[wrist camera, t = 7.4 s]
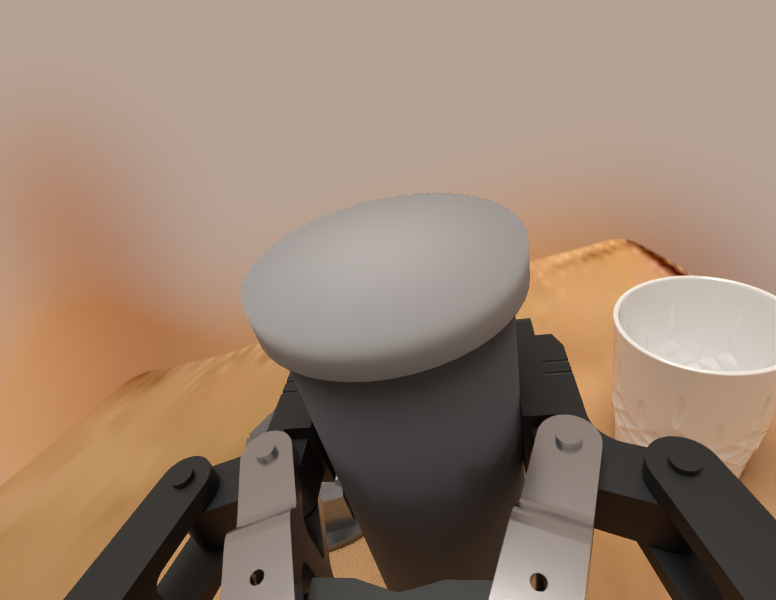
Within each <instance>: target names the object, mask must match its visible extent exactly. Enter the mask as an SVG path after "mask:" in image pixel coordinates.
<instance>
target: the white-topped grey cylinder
mask: <svg viewBox="0 0 776 600" xmlns="http://www.w3.org/2000/svg"><path fill="white" fill-rule="evenodd" d="M529 281H530V269H529V240H528V234H527V230H526V228H525V226H524V224H523V222H522V221H521V220H520V219H519V218H518V216H517V215H516V214H514V213H513V212H511V211H510V210H509V209H507V208H505V207H503V206H502V205H500V204H498V203H495V202H492V201H489V200H486V199H482V198H478V197H474V196H468V195H461V194H449V193H448V194H447V193H429V194H428V193H427V194H412V195H403V196H396V197H390V198H384V199H379V200H375V201H370V202H366V203H362V204H359V205H355V206H352V207H349V208H345V209H342V210H339V211H336V212H334V213H332V214H329V215H326V216H324V217H321V218H319V219H317V220H315V221H313V222H310V223H309V224H306V225H305V226H303V227H301V228H299V229H297V230H295V231H293V232H292V233H290V234H289V235H287V236H285V237H284V238H282V239H281V240H280V241H278V242H277V243H276V244H274V245H273V246H272V247H270V248H269V249H268V250H267V251H266V252H264V253H263V255H261V257H259V258H258V259H257V261H256V262H255V263H254V264H253V266H252V267H251V268H250V270H249V271H248V273H247V275H246V277H245V279H244V281H243V284H242V287H241V295H240V297H241V304H242V307H243V309H244V311H245V313H246V316H247V317H248V320H249V322H250V324H251V326H252V328H253V330H254V332H255V334H256V336H257V339H258V341H259V343H260V345H261V347H262V349H263V350H264V351H265V352H266V354H267V355H268V356H269V357H270V358H271V359H272V360H274V361H275V362H276V363H277V364H279V365H280V366H282V367H284V368H286V369H288V370H290V372H291V375H292V377H293V379H294V381H295V384H296V386H297V388H298V390H299V392H300V395H301V397H302V399H303V401H304V404H305V406H306V408H307V410H308V413H309V415H310V417H311V419H312V421H313V424H314V426H315V428H316V430H317V433H318V435H319V437H320V439H321V442H322V444H323V446H324V448H325V451H326V453H327V455H328V457H329V459H330V462H331V464H332V466H333V468H334V471H335V473H336V475H337V477H338V480H339V482H340V484H341V486H342V488H343V491H344V493H345V495H346V497H347V500H348V502H349V504H350V506H351V509H352V511H353V513H354V515H355V517H356V520H357V522H358V524H359V526H360V529H361V531H362V533H363V535H364V538H365V540H366V542H367V544H368V546H369V549H370V551H371V553H372V555H373V558H374V560H375V562H376V564H377V567H378V569H379V571H380V573H381V576H382V578H383V580H384V582H385V584H386V587H387V589H388V590H391V591H394V592H403V591H407V590H410V589H414V588H418V587H421V586H425V585H429V584H432V583H436V582H439V581H443V580H493V581H494V577H495V573H496V569H497V565H498V561H499V557H500V554H501V550H502V546H503V542H504V538H505V534H506V531H507V527H508V523H509V519H510V516H511V512H512V510H513V507H514V505H515V504H518V503H519V501H520V498H521V494H522V490H523V486H524V482H525V470H524V462H523V450H522V434H521V417H520V401H519V396H520V386H519V369H518V352H517V335H516V318H515V315H516V314H517V313H518V311H519V309H520V308H521V306H522V304H523V302H524V301H525V298H526V295H527V292H528V289H529Z"/></svg>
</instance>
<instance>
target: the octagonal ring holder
mask: <svg viewBox="0 0 776 600" xmlns="http://www.w3.org/2000/svg"><path fill="white" fill-rule="evenodd" d="M274 412H275V410H274V411H273V412H272V413H271V414H270V415H269V416H268V417H267V418H266V419H265V420H264V421H263V422H262V423H260V424H259V425H258V426H257V427H256V428H255V429H254V430H253V431H252V432H251V433H250V436H251V437H250V438H247V441H246V446H247V445H248V444H249V443H250V442H251V441H252V440H253V439H254V438H256V437H257V436H259V435H261V434H263V433H266V432H267V429H268V427H269V424H270V422H271V419H272V417H273V414H274ZM319 496H320V498H321V501H322V507H323V514H324V522H325V530H326V537H327V545H328V552H329V551H333V550H336V549H339V548H341V547H344V546H346V545H348V544H350V543H352V542H354V541H356V540H357V539H359V538H361V537H362V536H364V535H363V533H362V531H361V529H360V526H359V524H358V522H357V520H356V517H355V515H354V513H353V511H352V509H351V506H350V504H349V502H348V500H347V497H346V495H345V493H344V491H343V488H342V486H341V484H340V482H339V480H338V477H337V475H336V480H335V482H322V484H321V488H320V493H319Z"/></svg>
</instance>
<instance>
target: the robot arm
mask: <svg viewBox="0 0 776 600" xmlns="http://www.w3.org/2000/svg"><path fill="white" fill-rule="evenodd" d="M516 335H517V352H518V369H519V386H520V396H519V401H520V417H521V434H522V450H523V462H524V467H525V473H526V478H525V482H524V486H523V490H522V494H521V498H520V501H519V503H518V504H515V505H514V507H513V510H512V512H511V516H510V519H509V523H508V527H507V531H506V534H505V538H504V542H503V546H502V550H501V554H500V557H499V561H498V565H497V569H496V573H495V577H494V581H493V580H443V581H439V582H436V583H432V584H429V585H425V586H421V587H418V588H414V589H410V590H407V591H403V592H394V591H391V590H388V589H385V588H382V587H379V586H376V585H373V584H370V583H367V582H364V581H361V580H358V579H355V578H334V577H333V574H332V570H331V566H330V560H329V552H328V545H327V537H326V530H325V522H324V514H323V507H322V501H321V498H320V496H319V493H320V488H321V484H322V482H335V480H336V473H335V471H334V468H333V466H332V464H331V462H330V459H329V457H328V455H327V453H326V451H325V448H324V446H323V444H322V442H321V439H320V437H319V435H318V433H317V430H316V428H315V426H314V424H313V421H312V419H311V417H310V415H309V413H308V410H307V408H306V406H305V404H304V401H303V399H302V397H301V395H300V392H299V390H298V388H297V386H296V384H295V381H294V379H293V377H292V375H291V372H290V374H289V377H288V379H287V384H285V387H284V389H283V394H281V397H280V399H279V402H278V404H277V407H276V409H275V412H274V414H273V417H272V419H271V422H270V424H269V427H268V429H267V432H266V433H263V434H261V435H259V436H257V437H256V438H254V439H253V440H252V441H251V442H250V443H249V444H248V445H247V446H246V448H245V449H244V451H243V453H242V455H241V457H238V458H236V459H233V460H230V461H227V462H224V463H221V464H218V465H215V466H212V465H211V464H210V462H209V461H208V460H207V459H206V458H204V457H201V456H193V457H189V458H186V459H183V460H181V461H180V462H178V463H176V464H175V465H174V466H172V467H171V468H170V469H169V470H168V471H167V472H166V473H165V474H164V475H163V477H162V478H161V479H160V480H159V482H158V483H157V484H156V485H155V487H154V488H153V489H152V490H151V492H150V493H149V494H148V495H147V497H146V498H145V499H144V500H143V501H142V503H141V504H140V505H139V506H138V508H137V509H136V510H135V511H134V513H133V514H132V515H131V516H130V518H129V519H128V520H127V521H126V523H125V524H124V525H123V526H122V528H121V529H120V530H119V531H118V532H117V534H116V535H115V536H114V537H113V539H112V540H111V541H110V542H109V544H108V545H107V546H106V547H105V549H104V550H103V551H102V552H101V554H100V555H99V556H98V557H97V559H96V560H95V561H94V562H93V563H92V565H91V566H90V567H89V568H88V570H87V571H86V572H85V573H84V575H83V576H82V577H81V578H80V580H79V581H78V582H77V583H76V585H75V586H74V587H73V588H72V590H71V591H70V592H69V593H68V594H67V596H66V597H65V598H64V599H63V600H213V598H214V596H215V594H216V593H217V591H218V589H219V587H220V586H221V596H220V600H586V598H587V589H588V580H589V571H590V562H591V553H592V544H593V535H594V528H595V529H598V530H601V531H605V532H608V533H611V534H615V535H618V536H621V537H625V538H628V539H631V540H634V541H637V543H638V544H639V546H640V548H641V549H642V551H643V553H644V554H645V556H646V557H647V559H648V561H649V562H650V564H651V566H652V567H653V569H654V571H655V572H656V574H657V576H658V577H659V579H660V580H661V582H662V584H663V585H664V587H665V589H666V590H667V592H668V594H669V595H670V597H671V598H672V600H776V519H775V518H774V517H773V516H772V515H771V514H770V513H769V512H768V511H767V510H766V509H765V507H764V506H763V505H762V504H761V503H760V502H759V501H758V500H757V499H756V498H755V497H754V495H753V494H752V493H751V492H750V491H749V490H748V489H747V488H746V487H745V486H744V485H743V483H742V482H741V481H740V480H739V479H738V478H737V477H736V476H735V475H734V474H733V473H732V472H731V470H730V469H729V468H728V467H727V466H726V465H725V464H724V463H723V462H722V461H721V460H720V458H719V457H718V456H717V455H716V454H715V453H714V452H713V451H711V450H710V449H709V448H707V447H706V446H704V445H702V444H701V443H699V442H696V441H694V440H691V439H688V438H684V437H678V436H666V437H661V438H658V439H656V440H654V441H652V442H651V443H650V444H649V445H648V447H644V446H639V445H635V444H630V443H625V442H622V441H618V440H615V439H613V438H610V437H608V436H606V435H605V434H603V433H602V432H600V431H599V430H598V429H597V428H595V427H594V425H593V424H592V423H591V422H590V420H589V418H588V416H587V414H586V411H585V408H584V405H583V402H582V399H581V396H580V393H579V390H578V387H577V384H576V381H575V378H574V375H573V373H572V370H571V367H570V364H569V362H568V358H567V355H566V352H565V349H564V346H563V345H562V344H561V343H560V342H559V341H558V340H557V339H556V338H555V337H554V336H553V335H552V334H545V335H535V334H534V330H533V326H532V323H531V320H530V318H526V319H516ZM187 533H189V535H190V536H191V537H190V538H189V540H188V541H187V543H186V544H185V546H184V547H183V549H182V550H181V552H180V553H179V555H178V556H177V558H176V559H175V561H174V562H173V564H172V565H171V567H170V568H169V570H168V571H167V572H166V574H165V575H164V577H163V578H162V580H161V581H160V583H159V584H158V586H157V581H158V578H159V575H160V573H161V572H162V570H163V568H164V567H165V566H166V564H167V563H168V561H169V560H170V558H171V557H172V555H173V554H174V552H175V551H176V549H177V548H178V547H179V545H180V544H181V542H182V541H183V539H184V538H185V536H186V535H187Z"/></svg>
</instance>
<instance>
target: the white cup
mask: <svg viewBox="0 0 776 600" xmlns="http://www.w3.org/2000/svg"><path fill="white" fill-rule="evenodd" d="M612 393H613V408H614V411H615V440H618V441H622V442H625V443H630V444H635V445H639V446H644V447H648V445H649V444H650V443H651V442H652V441H654V440H656V439H658V438H661V437H666V436H678V437H684V438H688V439H691V440H694V441H696V442H699V443H701V444H702V445H704V446H706V447H707V448H709V449H710V450H711V451H713V452H714V453H715V454H716V455H717V456H718V457H719V458H720V460H721V461H722V462H723V463H724V464H725V465H726V466H727V467H728V468H729V469H730V470H731V472H732V473H733V474H734V475H735V476H736V477H737V478H738V479H739V478H740V476H741V474H742V473H743V471H744V469H745V468H746V466H747V463H748V461H749V459H750V457H751V455H752V453H754V452H755V451H756V450H757V449H758V447H759V446H760V443H761V441H762V439H763V437H764V436H765V434H766V433H767V432H768V429H769V427H770V425H771V423H772V421H773V419H774V417H775V415H776V296H774V295H773V294H771V293H768V292H766V291H764V290H761V289H759V288H756V287H753V286H750V285H747V284H744V283H740V282H736V281H732V280H727V279H722V278H715V277H706V276H673V277H665V278H659V279H655V280H651V281H647V282H644V283H641V284H639V285H637V286H635V287H633V288H631V289H629V290H628V291H626V292H625V293H624V294H623V295H622V296H621V297H620V298H619V299H618V301H617V302H616V304H615V307H614V311H613V373H612Z"/></svg>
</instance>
